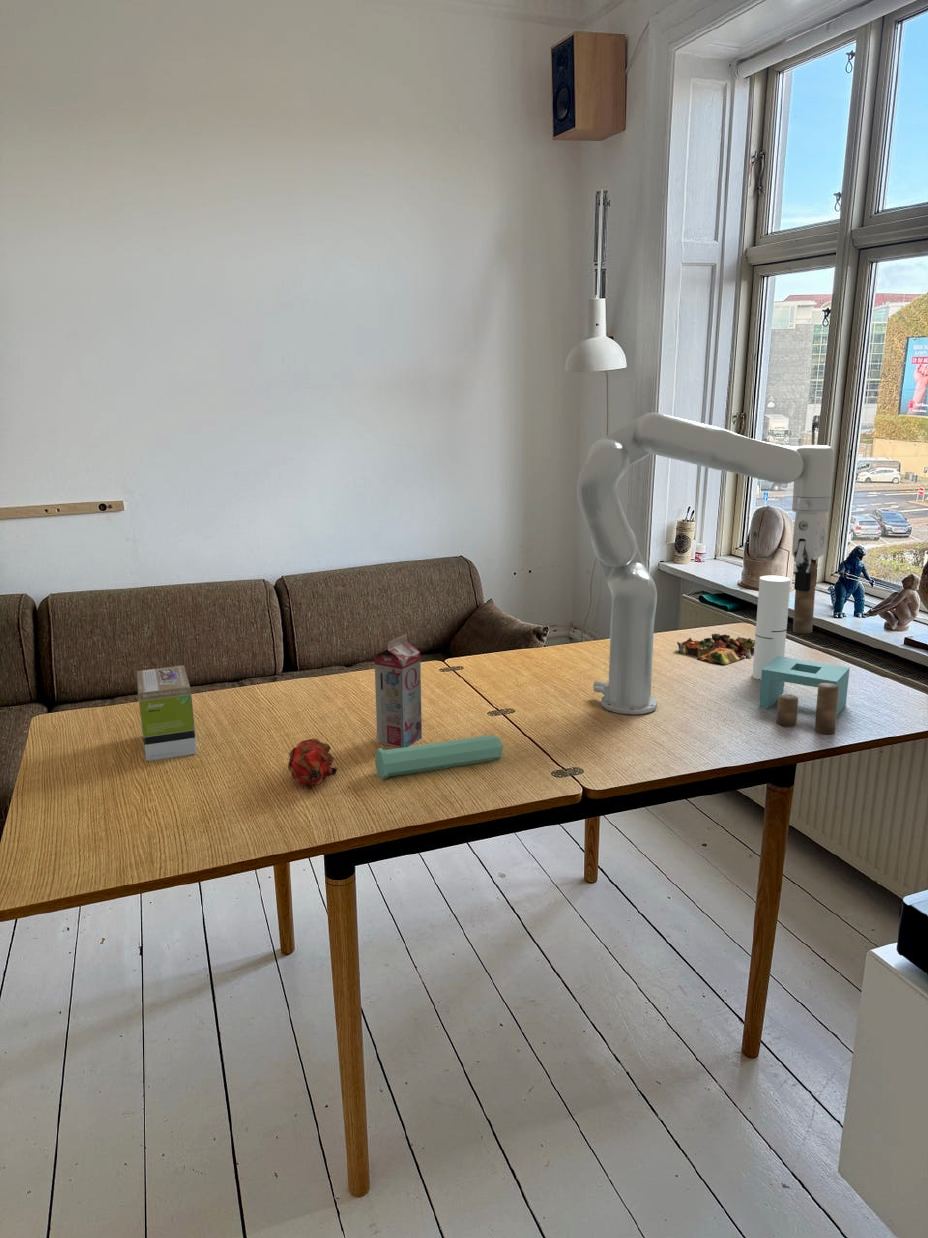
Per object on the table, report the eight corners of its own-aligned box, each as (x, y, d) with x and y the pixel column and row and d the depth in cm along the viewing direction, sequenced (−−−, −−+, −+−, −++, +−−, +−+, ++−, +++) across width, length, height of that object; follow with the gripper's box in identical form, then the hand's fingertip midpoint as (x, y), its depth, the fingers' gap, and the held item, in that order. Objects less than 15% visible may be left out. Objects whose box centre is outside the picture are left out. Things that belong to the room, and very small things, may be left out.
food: (715, 639, 266) (716, 627, 265) (773, 654, 252) (774, 641, 251) (667, 653, 252) (668, 641, 251) (726, 670, 238) (727, 657, 237)
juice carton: (421, 737, 193) (419, 636, 188) (403, 748, 188) (401, 644, 182) (395, 732, 196) (392, 632, 191) (377, 742, 191) (373, 639, 185)
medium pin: (812, 732, 195) (815, 686, 192) (817, 726, 198) (821, 681, 196) (832, 736, 193) (835, 690, 190) (837, 730, 196) (841, 685, 193)
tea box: (142, 736, 196) (135, 669, 192) (191, 729, 199) (185, 663, 195) (145, 762, 182) (137, 691, 178) (198, 755, 185) (192, 685, 182)
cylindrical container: (786, 681, 227) (794, 581, 221) (756, 681, 227) (764, 581, 221) (777, 672, 234) (785, 575, 228) (748, 672, 234) (756, 575, 228)
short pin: (774, 724, 199) (776, 698, 198) (779, 719, 202) (781, 693, 201) (793, 728, 197) (795, 701, 195) (798, 722, 200) (800, 696, 199)
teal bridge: (759, 707, 210) (762, 669, 207) (774, 692, 219) (777, 656, 217) (832, 721, 201) (836, 681, 199) (845, 705, 210) (849, 667, 208)
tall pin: (790, 631, 204) (794, 564, 200) (795, 627, 207) (800, 561, 203) (809, 634, 202) (814, 566, 198) (814, 630, 205) (819, 563, 201)
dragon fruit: (312, 774, 180) (320, 809, 169) (275, 756, 176) (280, 790, 165) (337, 740, 178) (347, 773, 168) (300, 721, 175) (307, 754, 164)
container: (498, 725, 184) (376, 742, 174) (509, 746, 179) (385, 764, 170) (493, 747, 187) (373, 764, 178) (504, 767, 183) (382, 787, 174)
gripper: (818, 510, 189) (812, 598, 193) (839, 500, 202) (833, 582, 206) (781, 508, 193) (776, 594, 197) (804, 498, 206) (798, 579, 211)
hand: (805, 587), depth 202 cm, fingers closed on tall pin, 4 cm apart
